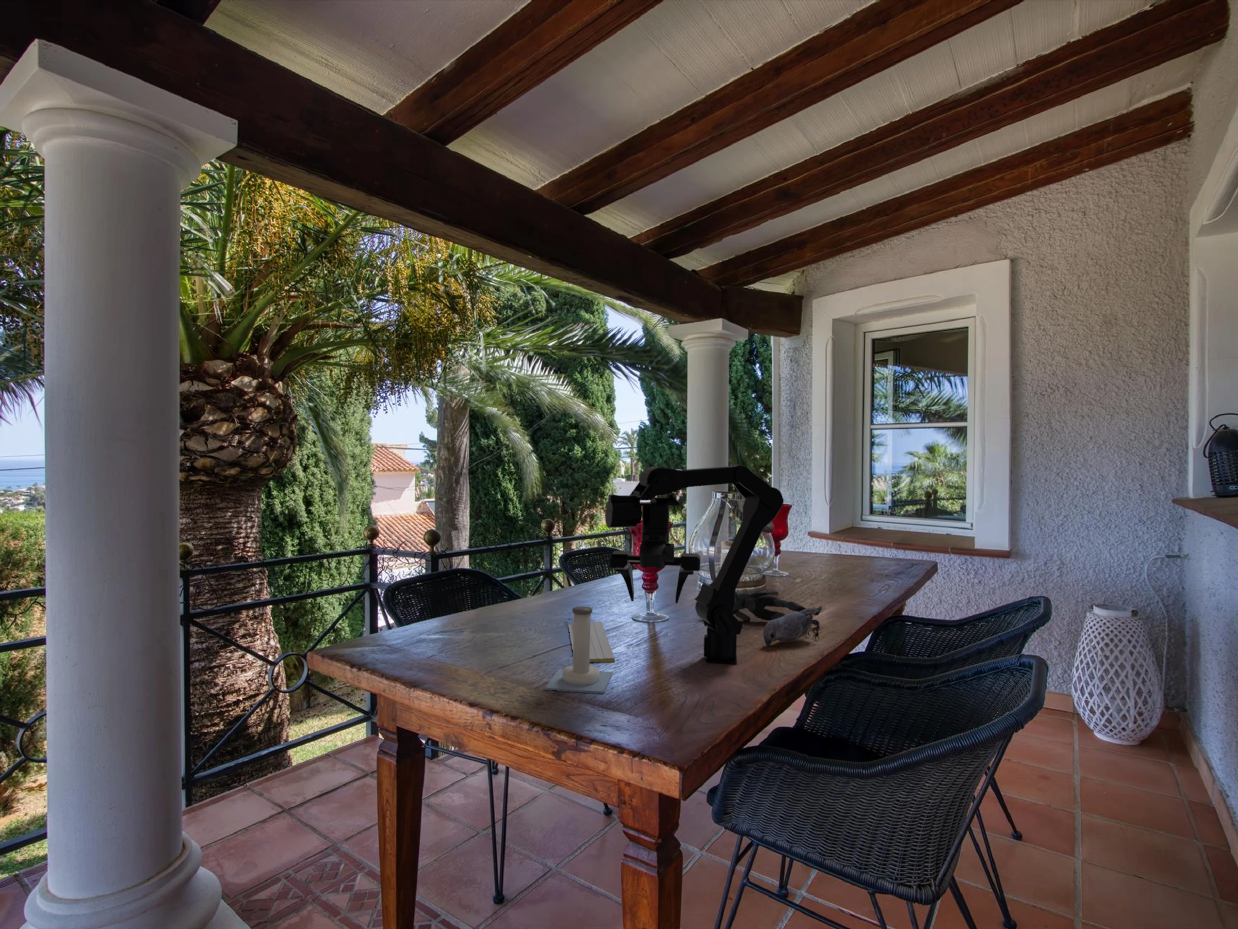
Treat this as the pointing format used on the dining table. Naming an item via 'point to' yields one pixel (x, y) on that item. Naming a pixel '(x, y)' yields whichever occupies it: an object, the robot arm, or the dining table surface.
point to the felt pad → (598, 687)
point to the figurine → (762, 599)
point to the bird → (790, 627)
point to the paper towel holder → (581, 651)
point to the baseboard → (596, 643)
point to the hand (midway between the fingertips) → (654, 602)
